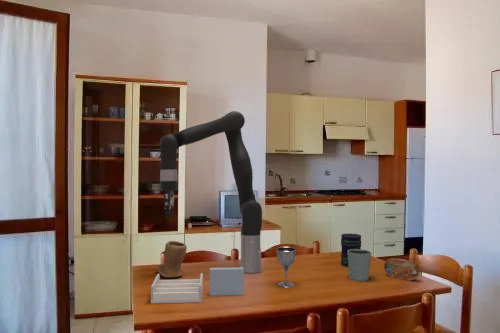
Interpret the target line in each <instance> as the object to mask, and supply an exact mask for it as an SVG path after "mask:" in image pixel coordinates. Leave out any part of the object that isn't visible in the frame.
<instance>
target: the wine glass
mask: <svg viewBox="0 0 500 333" xmlns="http://www.w3.org/2000/svg"><path fill="white" fill-rule="evenodd" d="M296 255H297V249H296V248H295V247H291V246H279V247H276V258H277V262H278V264H279V266H281V268H282V269H283V272H284V281H281V282H278V283H277V286H278V287H281V288H292V287H295V283H293V282H290V281H288V272H289V269H290V268H291V267H292V266H293V265H294V264H295V262H296V258H297V257H296Z"/></svg>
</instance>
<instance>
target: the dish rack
mask: <svg viewBox="0 0 500 333" xmlns="http://www.w3.org/2000/svg"><path fill="white" fill-rule="evenodd" d="M160 276H161V274H160V273H157V274H156V276H155V278H154V280H153V282H152V285H150V304H174V303H175V304H177V303H178V304H181V303H182V304H183V303H185V304H186V303H188V304H189V303H202V297H203V287H204V285H203V284H204V280H203V279H204V273H203V272H200V277H199V278H196V279H192V278H191V279H189V278H188V279H187V278H186V279H161V278H160Z"/></svg>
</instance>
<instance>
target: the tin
mask: <svg viewBox="0 0 500 333" xmlns="http://www.w3.org/2000/svg"><path fill="white" fill-rule="evenodd" d="M383 269H384V271H385V273H386V275H387V276H389V277H391V278H395V279H399V280H404V281H409V282H410V281H414V280H415V279H418V277H419V275H420V269H419V266H418V264H416V262H414V261H412V260H406V259H401V258H396V257H395V258H394V257H393V258H389V259H388V258H387V260H385V263H384V264H383Z"/></svg>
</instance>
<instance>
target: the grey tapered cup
mask: <svg viewBox="0 0 500 333" xmlns="http://www.w3.org/2000/svg"><path fill="white" fill-rule="evenodd" d="M347 252H348V263H349V264H348V267H347V268H348V279H350V280H351V281H354V282H367V281H369V279H370V269H371V265H370V264H371V258H372V252H371V251H370V250H367V249H350V250H348V251H347Z"/></svg>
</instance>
